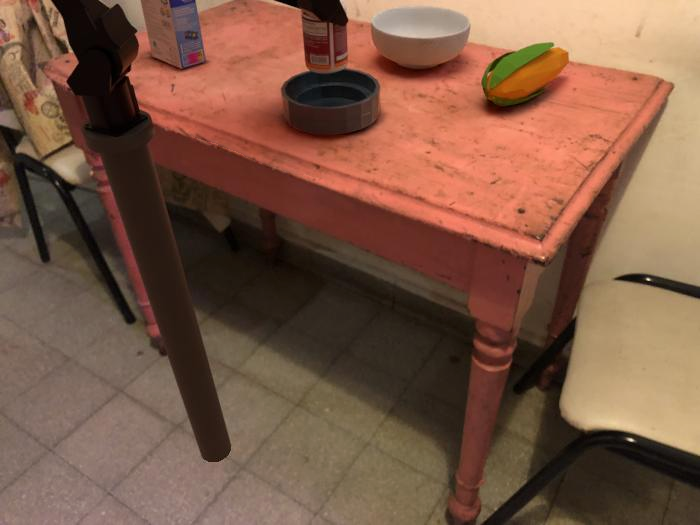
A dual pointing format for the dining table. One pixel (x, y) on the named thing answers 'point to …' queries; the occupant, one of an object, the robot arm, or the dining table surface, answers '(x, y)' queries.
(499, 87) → the corn
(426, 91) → the dining table surface
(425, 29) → the cereal bowl
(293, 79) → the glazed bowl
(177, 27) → the ink cartridge box
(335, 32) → the pill bottle
